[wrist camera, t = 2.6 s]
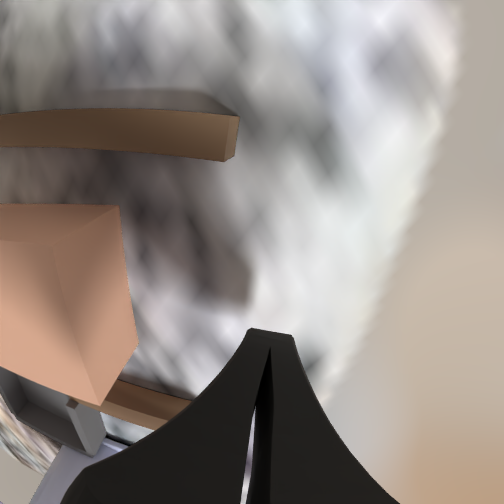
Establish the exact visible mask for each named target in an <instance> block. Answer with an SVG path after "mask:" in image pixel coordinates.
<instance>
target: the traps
mask: <svg viewBox="0 0 504 504" xmlns="http://www.w3.org/2000/svg"><path fill="white" fill-rule="evenodd" d="M0 393H1V395H2V397H3V399H4V401H5V403H6V404H7V406H8V408H9V410H10V412H11V413H13V414H14V415H15V417H16V419H17V420H19V421H20V422H22V423H24V424H25V425H27V426H29V427H31V428H32V429H34V430H36V431H38V432H40V433H41V434H43V435H45V436H47V437H49V438H51V439H53V440H55V441H57V442H59V443H61V444H63V445H65V446H67V447H69V448H71V449H73V450H75V451H77V452H79V453H82V454H84V455H86V456H88V457H91V458H93V457H94V456H95V455H96V453H97V451H98V449H99V447H100V445H101V443H102V441H103V440H104V438H105V436H106V434H107V432H106V430H105V427H104V424H103V421H102V418H101V415H100V411H98V410H95V409H92V408H90V407H88V406H85V405H83V404H80V403H78V402H76V401H73V400H71V399H70V398H69V396H68V395H66V394H64V393H61V392H58V391H56V390H53V389H51V388H48V387H46V386H43V385H41V384H39V383H36V382H34V381H31V380H29V379H27V378H25V377H22V376H20V375H18V374H16V373H14V372H12V371H9V370H7V369H5V368H3V367H1V366H0Z"/></svg>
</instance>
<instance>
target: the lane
mask: <svg viewBox="0 0 504 504" xmlns="http://www.w3.org/2000/svg"><path fill="white" fill-rule="evenodd" d="M239 119H240V117H237V116H229V115H220V114H210V113H200V112H188V111H174V110H156V109H126V108H91V109H62V110H45V111H32V112H21V113H12V114H3V115H0V147H59V148H83V149H101V150H116V151H129V152H141V153H152V154H162V155H171V156H180V157H189V158H197V159H205V160H212V161H220V162H225V161H227V160H228V159H230V158H232V157H233V156H234V154H235V147H236V140H237V132H238V125H239ZM68 396H69V395H68ZM69 398H70V399H71V400H73V401H76V402H78V403H80V404H83V405H85V406H88V407H90V408H92V409H95V410H98V411H100V412H103V413H105V414H108V415H111V416H113V417H116V418H119V419H122V420H125V421H127V422H130V423H133V424H136V425H139V426H143V427H146V428H149V429H152V430H157V429H158V428H160V427H161V426H162V425H164V424H165V423H166V422H168V421H169V420H170V419H172V418H173V417H174V416H175V415H177V414H178V413H179V412H181V411H182V410H183V409H184V408H185V407H186V406H188V405H189V404H190V403H191V402H192V401H189V400H185V399H181V398H177V397H174V396H170V395H166V394H163V393H159V392H156V391H152V390H149V389H145V388H142V387H139V386H136V385H132V384H129V383H126V382H123V381H120V380H117V379H116V381H115V382H114V384H113V386H112V387H111V389H110V391H109V392H108V394H107V396H106V397H105V399H104V401H103V402H102V404H101V406H98V405H95V404H92V403H89V402H86V401H83V400H80V399H78V398H75V397H72V396H69Z"/></svg>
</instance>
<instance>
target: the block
mask: <svg viewBox="0 0 504 504" xmlns="http://www.w3.org/2000/svg"><path fill="white" fill-rule="evenodd" d="M138 344H139V342H138V337H137V332H136V326H135V321H134V316H133V310H132V304H131V298H130V292H129V285H128V278H127V271H126V264H125V256H124V248H123V239H122V230H121V219H120V208H119V205H94V204H0V366H1V367H3V368H5V369H7V370H9V371H12V372H14V373H16V374H18V375H20V376H22V377H25V378H27V379H29V380H31V381H34V382H36V383H39V384H41V385H43V386H46V387H48V388H51V389H53V390H56V391H58V392H61V393H64V394H66V395H69V396H72V397H75V398H78V399H80V400H83V401H86V402H89V403H92V404H95V405H98V406H101V404H102V402H103V401H104V399H105V397H106V396H107V394H108V392H109V391H110V389H111V387H112V386H113V384H114V382H115V381H116V379H117V378H118V376H119V374H120V373H121V371H122V369H123V368H124V366H125V365H126V363H127V361H128V360H129V358H130V357H131V355H132V353H133V352H134V350H135V349H136V347H137V346H138Z"/></svg>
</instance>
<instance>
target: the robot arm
mask: <svg viewBox="0 0 504 504" xmlns="http://www.w3.org/2000/svg"><path fill="white" fill-rule="evenodd" d="M255 406H256V410H255ZM254 410H255V427H254V443H253V459H252V470H251V478H250V483H249V489H248V494H247V500H246V504H400V503H398V502H397V501H396V500H395V499H394V498H392V497H391V496H390V495H389V494H388V493H387V492H386V491H385V490H384V489H383V488H382V487H381V486H380V485H379V484H378V483H377V482H376V481H375V480H374V479H373V478H372V477H371V476H370V475H369V473H368V472H367V471H366V470H365V469H364V468H363V466H362V465H361V464H360V463H359V462H358V460H357V459H356V458H355V457H354V456H353V455H352V453H351V452H350V451H349V449H348V448H347V446H346V445H345V444H344V442H343V441H342V440H341V438H340V437H339V435H338V434H337V432H336V431H335V429H334V427H333V426H332V424H331V423H330V421H329V420H328V418H327V416H326V414H325V412H324V411H323V409H322V407H321V405H320V403H319V401H318V399H317V397H316V395H315V393H314V391H313V389H312V387H311V385H310V382H309V380H308V378H307V376H306V373H305V371H304V368H303V366H302V363H301V360H300V358H299V355H298V352H297V348H296V345H295V341H294V338H293V337H292V335H289V334H283V333H277V332H272V331H266V330H261V329H255V328H250V329H248V330H247V332H246V335H245V337H244V339H243V341H242V342H241V344H240V346H239V347H238V349H237V350H236V352H235V353H234V355H233V356H232V358H231V359H230V360H229V362H228V363H227V364H226V365H225V367H224V368H223V369H222V371H221V372H220V373H219V374H218V375H217V376H216V377H215V379H214V380H213V381H212V382H211V383H210V384H209V385H208V386H207V387H206V388H205V389H204V390H203V391H202V392H201V393H200V394H199V395H198V396H197V397H196V398H195V399H194V400H193V401H192V402H191V403H190V404H189V405H188V406H186V407H185V408H184V409H183V410H182V411H181V412H179V413H178V414H177V415H175V416H174V417H173V418H172V419H170V420H169V421H168V422H166V423H165V424H164V425H162V426H161V427H160V428H158V429H157V430H155V431H154V432H152V433H151V434H149V435H147V436H146V437H144V438H142V439H141V440H139V441H137V442H136V443H134V444H132V445H131V446H126V445H123V444H120V443H118V442H115V441H112V440H110V439H107V438H104V440H103V441H102V443H101V445H100V447H99V449H98V451H97V453H96V455H95V456H94V457H93V458H91V457H88V456H86V455H84V454H82V453H79V452H77V451H75V450H73V449H71V448H69V447H67V446H65V445H62V447H61V449H60V450H59V452H58V454H57V455H56V457H55V459H54V460H53V462H52V464H51V466H50V467H49V469H48V471H47V472H46V474H45V476H44V478H43V480H42V481H41V483H40V485H39V486H38V488H37V490H36V492H35V494H34V495H33V497H32V499H31V501H30V503H29V504H240V502H241V494H242V487H243V480H244V473H245V466H246V458H247V451H248V444H249V437H250V430H251V424H252V417H253V413H254ZM0 504H3V503H2V502H1V501H0Z"/></svg>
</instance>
